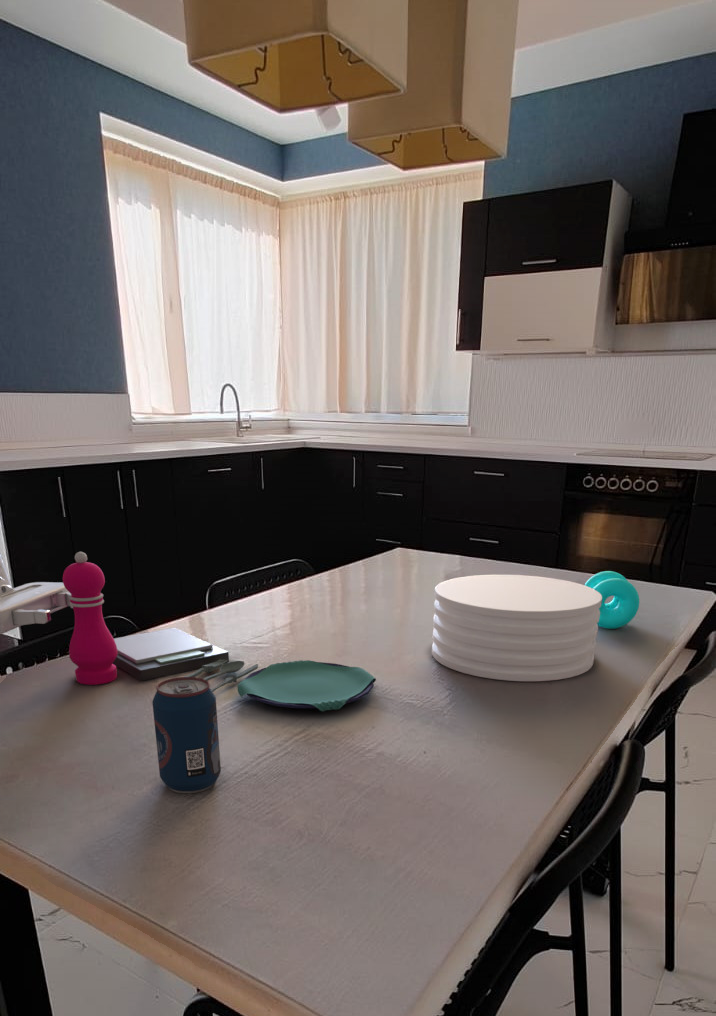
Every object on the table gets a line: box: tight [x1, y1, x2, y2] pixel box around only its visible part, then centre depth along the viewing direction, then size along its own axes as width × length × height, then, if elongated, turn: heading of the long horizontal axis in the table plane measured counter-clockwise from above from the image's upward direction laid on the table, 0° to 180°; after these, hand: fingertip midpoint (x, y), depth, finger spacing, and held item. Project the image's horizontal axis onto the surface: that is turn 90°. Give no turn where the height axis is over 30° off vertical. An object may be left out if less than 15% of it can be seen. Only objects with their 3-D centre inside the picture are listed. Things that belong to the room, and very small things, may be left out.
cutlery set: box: [184, 659, 377, 712], centre depth 119 cm, size 20×30×2 cm, turn 66°
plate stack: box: [431, 574, 602, 682], centre depth 134 cm, size 28×28×12 cm
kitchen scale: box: [112, 627, 230, 682], centre depth 132 cm, size 18×16×2 cm
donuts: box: [584, 570, 640, 630], centre depth 154 cm, size 10×10×10 cm
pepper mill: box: [62, 551, 118, 686], centre depth 119 cm, size 7×7×20 cm
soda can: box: [152, 676, 222, 794], centre depth 87 cm, size 7×7×12 cm
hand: (65, 609), depth 120 cm, fingers open, 8 cm apart
